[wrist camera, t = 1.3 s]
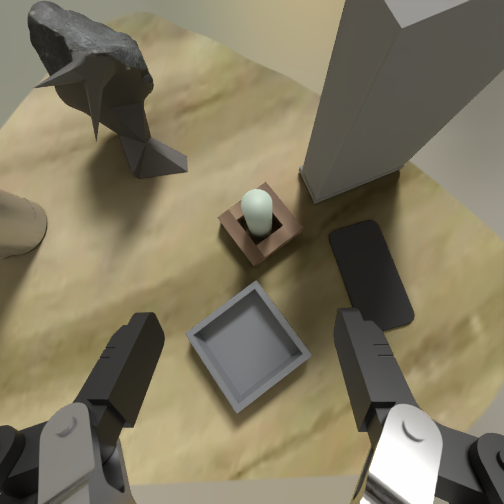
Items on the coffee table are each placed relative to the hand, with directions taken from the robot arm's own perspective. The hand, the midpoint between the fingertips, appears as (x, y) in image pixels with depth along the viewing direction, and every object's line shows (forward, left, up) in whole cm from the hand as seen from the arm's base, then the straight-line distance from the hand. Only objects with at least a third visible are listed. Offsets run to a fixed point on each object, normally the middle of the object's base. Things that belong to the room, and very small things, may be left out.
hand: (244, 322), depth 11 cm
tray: (-5, -3, -25) cm, 25 cm away
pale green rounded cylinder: (+6, +9, -25) cm, 27 cm away
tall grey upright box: (+22, +8, -25) cm, 34 cm away
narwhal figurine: (0, +34, -25) cm, 42 cm away
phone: (+14, -6, -25) cm, 30 cm away
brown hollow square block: (+6, +9, -25) cm, 27 cm away
